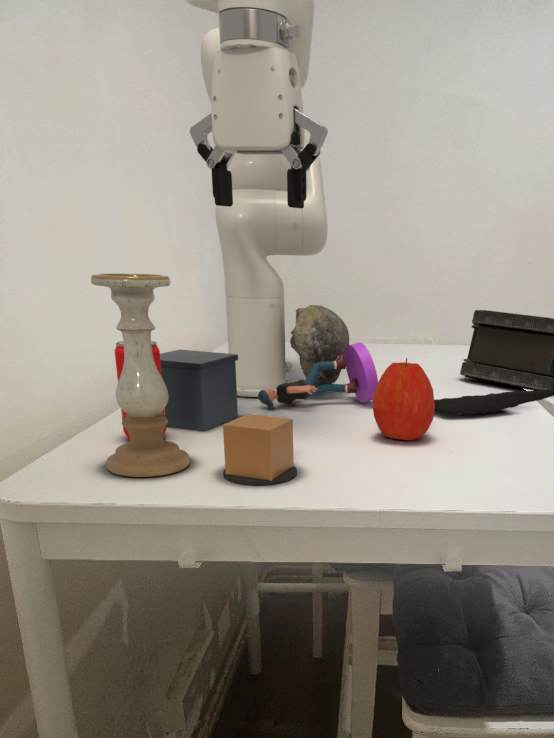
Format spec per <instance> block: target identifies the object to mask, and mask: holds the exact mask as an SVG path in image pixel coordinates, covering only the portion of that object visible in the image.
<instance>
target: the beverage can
mask: <svg viewBox="0 0 554 738" xmlns="http://www.w3.org/2000/svg"><path fill="white" fill-rule="evenodd" d="M115 345H116V346H115V348H114V358H115V360H114V361H115V369H116V378H117V382H118V381H119V378H120V376H121V373H122V370H123V365H124V342H123V340H121V341H117V342H115ZM151 346H152V353H153V359H154V362H155V365H156V367H157V369H158V371H159V373H160V375H161V377H162V373H161V361H160V354H161V351H160V348H159V346H158V343H157V341H153V340H151ZM120 412H121V413H120V414H121V421H122V420H123V419H124V418H126V415H128V414H127V413H126V412H124V411H123V410H122V409H121V408H120ZM161 413H162V414H163V416H165V408H164V410H163V411H162V412H161ZM122 432H123V433H124V435H125V437H126V439H127V441H128V442H130V435H129V432H128V431H127V429H126V428H125V427H124V426H123V425H122ZM166 432H167V426H165V428H164V430H163V440H164V439H165V434H166Z"/></svg>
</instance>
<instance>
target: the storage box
mask: <svg viewBox="0 0 554 738" xmlns="http://www.w3.org/2000/svg"><path fill="white" fill-rule="evenodd" d="M236 360H238V354H229V353H225V352H213V351H203V350H202V351H201V350H192V349H191V350H190V349H176V350H170V351H166V352H160V361H161V373H162V378H163V380H164V382H165V384H166V387H167V389H168V393H169V400H168V403H167V405H166V407H165V417H166V418H167V419H168V423H167V424H166V427H170V428H179V429H187V430H195V431H204V432H205V431H207V430H209V429H212V428H214V427H217V426H219V425H223V424H225V423H228V422H230V421H232V420H235V419H237V418H239V410H238V409H239V407H238V396H237V385H236V364H235V361H236Z"/></svg>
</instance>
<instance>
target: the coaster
mask: <svg viewBox="0 0 554 738" xmlns="http://www.w3.org/2000/svg"><path fill="white" fill-rule="evenodd" d="M222 471H223V477H224V478H225V479H226V480H227V481H228V482H231V483H235V484H239V485H243V486H244V485H245V486H271V485H278V484H282V483H283V484H284V483H286V482H289V481H291V480H293V479H295V478H296V477H297V475H298V469H297V467H296V466H295V465H294V466H293V467H292V468H291V469H289V470H287V471H286V472H284V473H283V474H281V475H280V476H278V477H276V478H275V479H273V480H272V481H270V480H263V479H256V478H248V477H241V476H234V475H227V474H226V471H225V468H224V469H223V470H222Z"/></svg>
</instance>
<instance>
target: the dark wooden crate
mask: <svg viewBox="0 0 554 738" xmlns="http://www.w3.org/2000/svg"><path fill="white" fill-rule="evenodd" d="M471 323H472V324H473V325H471V328H472V329H473V332H472V335H471V341H470V344H469V349H468V354H467V358H463V362H462V363H461V367H460V370H459V375H460V376H463V377H464V378H468V379H472V380H477V381H483V382H488V383H493V384H498V385H503V386H508V387H514V388H518V389H523V390H527V391H536V390H554V318H553V317H546V316H538V315H529V314H521V313H513V312H504V311H496V310H486V309H475V310H474V312H473V315H472V320H471Z"/></svg>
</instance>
